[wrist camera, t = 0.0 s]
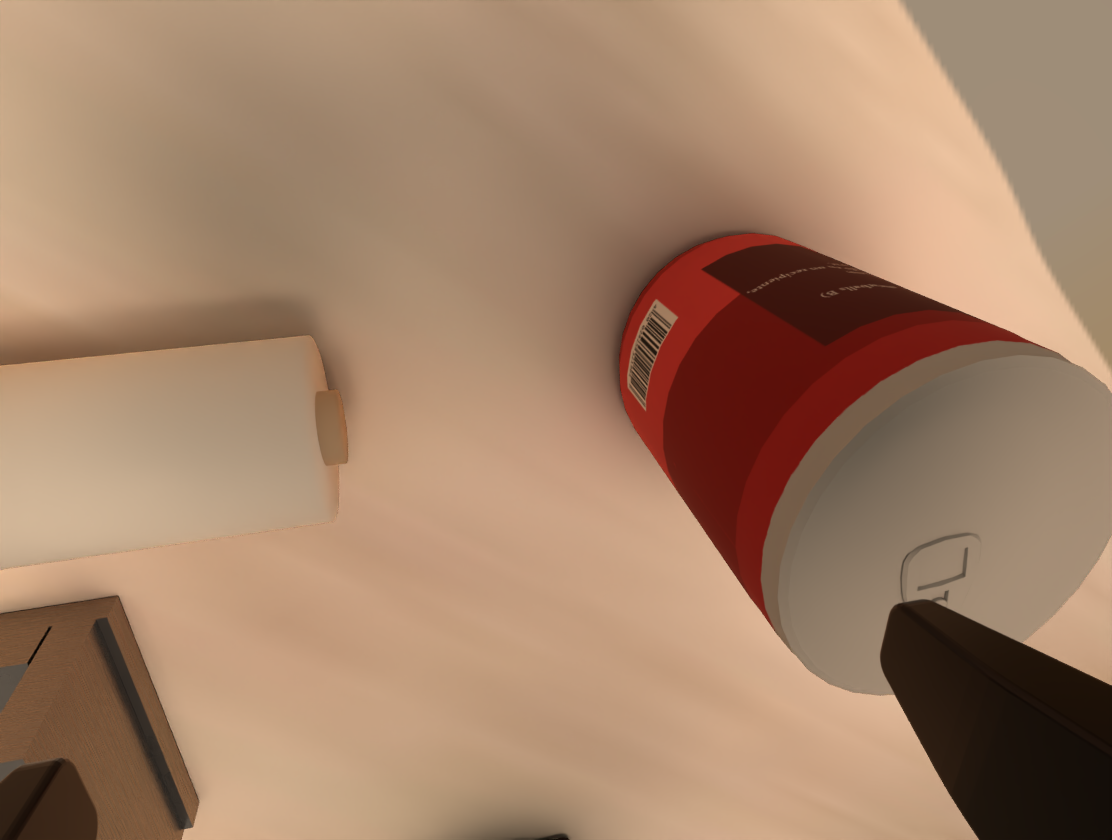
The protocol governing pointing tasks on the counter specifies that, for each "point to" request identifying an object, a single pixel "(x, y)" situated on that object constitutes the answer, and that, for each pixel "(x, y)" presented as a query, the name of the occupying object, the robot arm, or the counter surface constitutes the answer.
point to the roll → (165, 448)
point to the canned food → (865, 448)
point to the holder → (93, 716)
